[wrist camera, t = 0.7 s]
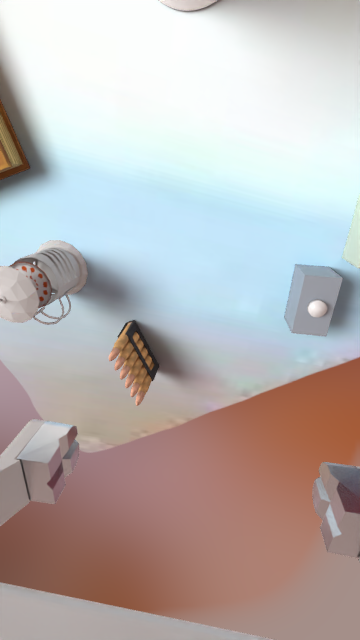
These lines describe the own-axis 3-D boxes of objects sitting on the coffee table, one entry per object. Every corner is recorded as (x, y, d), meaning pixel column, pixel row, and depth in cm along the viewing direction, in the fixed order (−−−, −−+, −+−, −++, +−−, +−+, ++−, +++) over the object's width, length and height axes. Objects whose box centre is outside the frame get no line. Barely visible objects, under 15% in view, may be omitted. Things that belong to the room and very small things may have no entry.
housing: (295, 264, 46) (306, 277, 40) (328, 266, 46) (345, 280, 39) (284, 316, 50) (292, 336, 44) (314, 319, 49) (328, 339, 43)
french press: (60, 227, 49) (-80, 266, 26) (105, 284, 52) (15, 362, 29) (23, 260, 52) (-130, 320, 30) (68, 312, 55) (-39, 400, 33)
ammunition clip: (125, 322, 55) (101, 357, 44) (134, 319, 54) (111, 353, 43) (151, 368, 58) (134, 411, 47) (159, 366, 58) (144, 408, 47)
